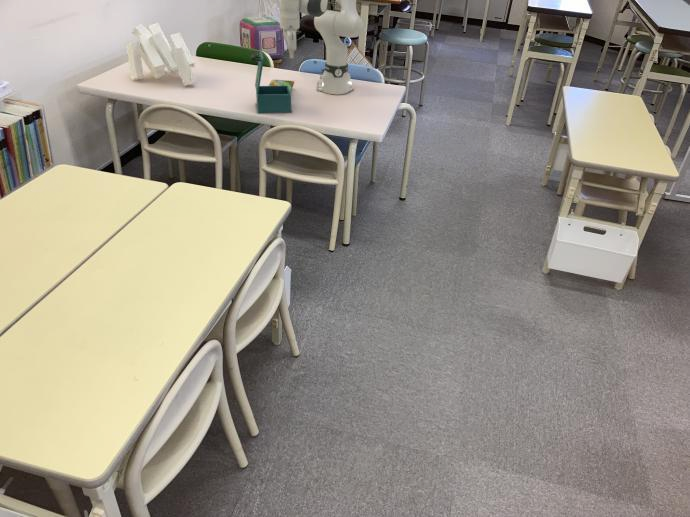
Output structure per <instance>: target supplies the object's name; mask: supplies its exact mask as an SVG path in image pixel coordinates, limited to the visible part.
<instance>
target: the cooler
mask: <svg viewBox="0 0 690 517" xmlns="http://www.w3.org/2000/svg"><path fill="white" fill-rule="evenodd" d="M255 96H256V97H255V98H256V107H257V113H258V114H280V113H282V114H283V113H284V114H285V113H292V94H291V92H290V90H289V87H288V86H269V85H260V87H259V94H257V93H256V92H255Z"/></svg>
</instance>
